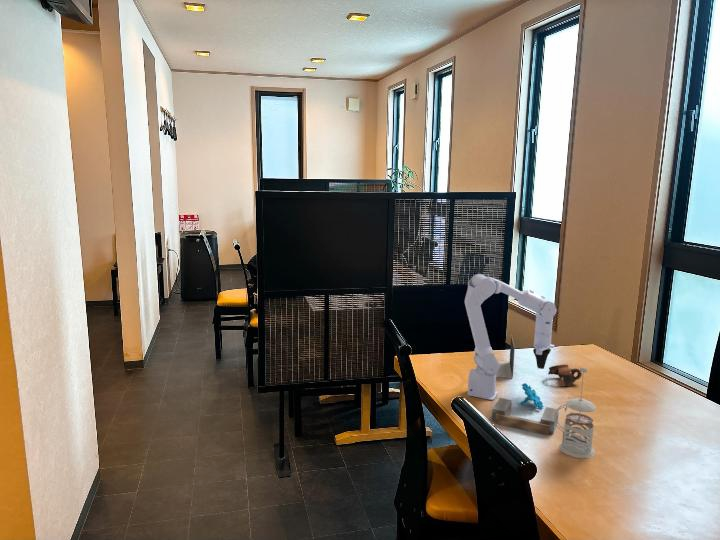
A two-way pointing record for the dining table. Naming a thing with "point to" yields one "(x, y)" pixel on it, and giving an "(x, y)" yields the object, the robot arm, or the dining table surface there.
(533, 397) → the blue knobby piece
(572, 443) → the french press
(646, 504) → the dining table surface
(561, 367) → the pottery mug
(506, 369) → the laptop
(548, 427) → the cradle
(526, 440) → the dining table surface
